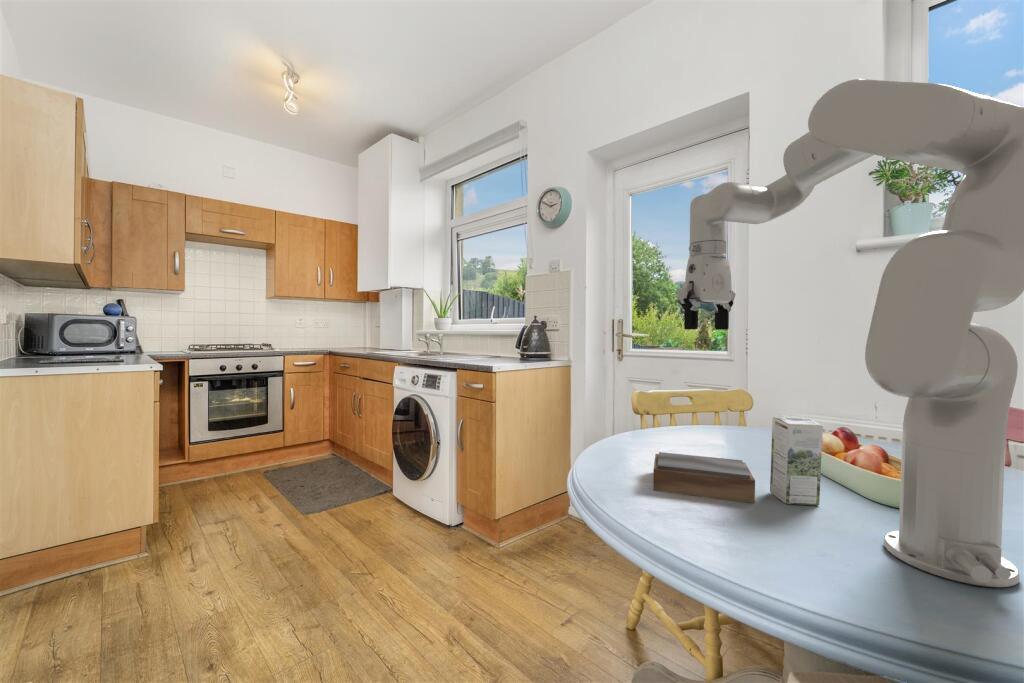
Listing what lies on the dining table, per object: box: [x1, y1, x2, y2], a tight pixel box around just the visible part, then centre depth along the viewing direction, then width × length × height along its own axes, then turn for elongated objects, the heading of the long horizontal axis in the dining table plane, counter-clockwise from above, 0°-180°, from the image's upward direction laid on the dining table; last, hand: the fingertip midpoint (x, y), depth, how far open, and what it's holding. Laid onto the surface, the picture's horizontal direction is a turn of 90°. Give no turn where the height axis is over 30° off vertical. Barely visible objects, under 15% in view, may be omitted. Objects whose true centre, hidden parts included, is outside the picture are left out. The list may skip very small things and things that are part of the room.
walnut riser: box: [652, 451, 756, 504], centre depth 84 cm, size 11×17×5 cm, turn 70°
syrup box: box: [769, 416, 824, 506], centre depth 78 cm, size 6×6×14 cm
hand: (706, 329), depth 97 cm, fingers open, 9 cm apart
